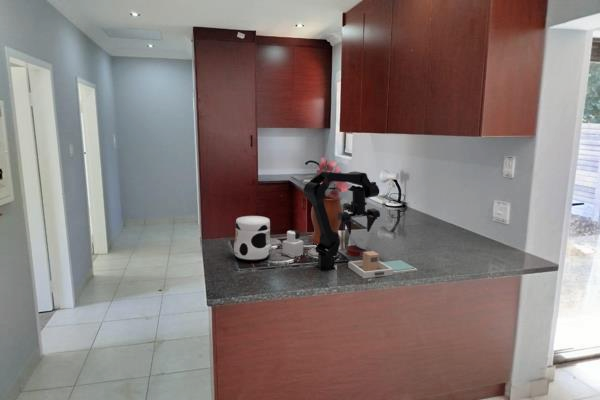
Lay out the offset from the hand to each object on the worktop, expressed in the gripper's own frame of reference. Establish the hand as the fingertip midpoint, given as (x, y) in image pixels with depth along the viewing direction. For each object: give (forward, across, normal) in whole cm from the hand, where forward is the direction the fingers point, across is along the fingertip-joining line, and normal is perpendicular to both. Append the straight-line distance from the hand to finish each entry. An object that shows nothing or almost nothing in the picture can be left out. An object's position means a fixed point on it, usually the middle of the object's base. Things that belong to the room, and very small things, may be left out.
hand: (359, 232), depth 186 cm
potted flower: (+14, +4, -32) cm, 35 cm away
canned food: (+14, -3, -9) cm, 17 cm away
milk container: (+10, +47, -14) cm, 50 cm away
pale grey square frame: (+13, +2, +14) cm, 19 cm away
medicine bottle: (+12, +28, -13) cm, 33 cm away
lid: (+14, -12, +13) cm, 23 cm away
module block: (+13, +2, +14) cm, 19 cm away
